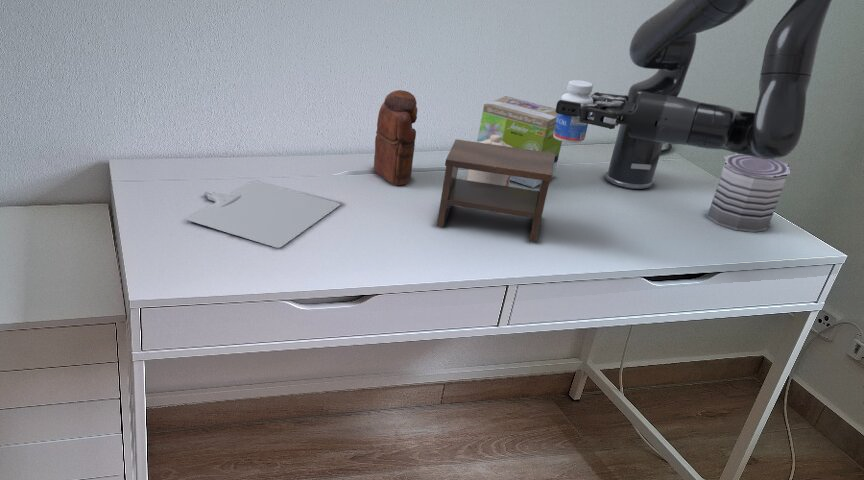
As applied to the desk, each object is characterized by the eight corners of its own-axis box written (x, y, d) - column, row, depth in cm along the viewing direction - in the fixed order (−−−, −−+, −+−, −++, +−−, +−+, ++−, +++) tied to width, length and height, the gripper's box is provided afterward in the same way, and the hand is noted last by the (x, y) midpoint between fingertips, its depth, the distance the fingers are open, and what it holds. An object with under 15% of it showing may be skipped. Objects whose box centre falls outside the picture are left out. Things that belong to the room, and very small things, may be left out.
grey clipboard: (238, 178, 178) (238, 172, 177) (341, 207, 169) (341, 201, 168) (167, 216, 159) (167, 211, 158) (278, 251, 150) (279, 245, 149)
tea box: (470, 170, 189) (482, 102, 181) (492, 160, 195) (505, 94, 188) (534, 189, 180) (549, 119, 173) (555, 177, 187) (570, 109, 180)
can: (782, 227, 168) (804, 168, 162) (743, 236, 164) (764, 175, 158) (732, 206, 177) (751, 149, 171) (693, 214, 172) (711, 155, 166)
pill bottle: (547, 133, 155) (559, 78, 150) (576, 134, 155) (589, 79, 150) (559, 143, 150) (571, 86, 145) (589, 143, 150) (602, 87, 145)
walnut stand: (445, 203, 171) (455, 139, 165) (540, 218, 167) (555, 153, 160) (435, 226, 161) (445, 159, 154) (536, 243, 156) (552, 175, 150)
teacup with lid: (514, 199, 175) (526, 143, 169) (471, 199, 174) (481, 142, 168) (494, 178, 185) (504, 124, 179) (453, 178, 184) (462, 124, 178)
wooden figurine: (419, 184, 180) (431, 97, 170) (392, 187, 178) (403, 99, 168) (391, 165, 189) (402, 82, 180) (365, 168, 187) (375, 84, 178)
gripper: (674, 87, 147) (573, 72, 154) (664, 106, 136) (556, 89, 143) (662, 130, 151) (564, 114, 158) (652, 152, 140) (546, 134, 147)
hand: (560, 102), depth 150 cm, fingers closed on pill bottle, 5 cm apart
